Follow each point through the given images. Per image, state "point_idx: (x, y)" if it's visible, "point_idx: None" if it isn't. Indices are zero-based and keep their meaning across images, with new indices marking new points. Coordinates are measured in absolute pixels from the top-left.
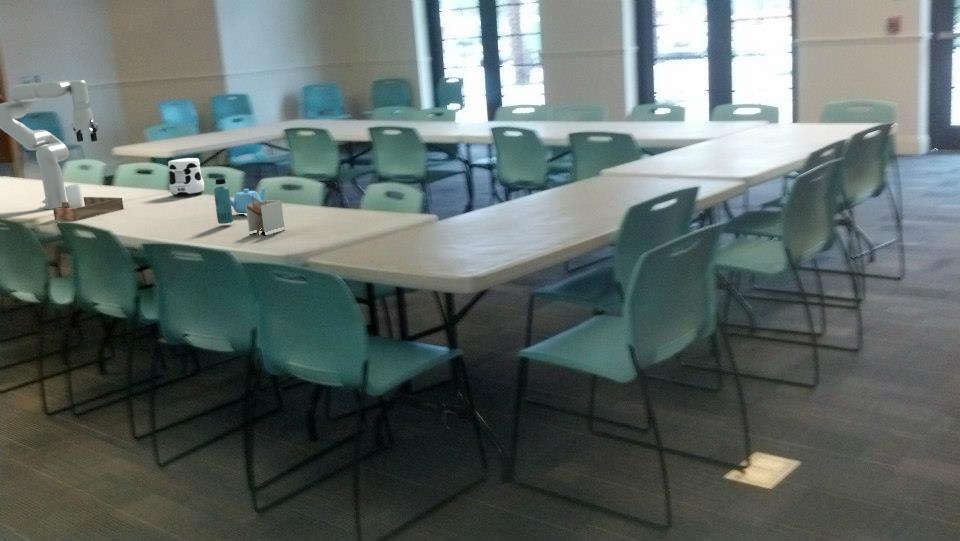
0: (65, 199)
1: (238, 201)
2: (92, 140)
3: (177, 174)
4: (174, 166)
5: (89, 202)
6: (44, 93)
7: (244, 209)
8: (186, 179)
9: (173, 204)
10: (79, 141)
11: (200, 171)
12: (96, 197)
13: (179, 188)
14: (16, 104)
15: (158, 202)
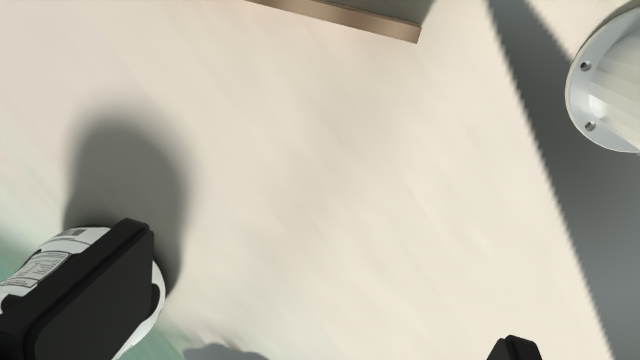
0: (600, 101)
1: None
2: (117, 232)
3: (28, 276)
4: (4, 305)
5: (378, 15)
6: None
7: None
8: (23, 266)
9: (8, 71)
10: (497, 353)
11: None
12: (314, 6)
13: (70, 234)
14: None
15: (117, 132)
